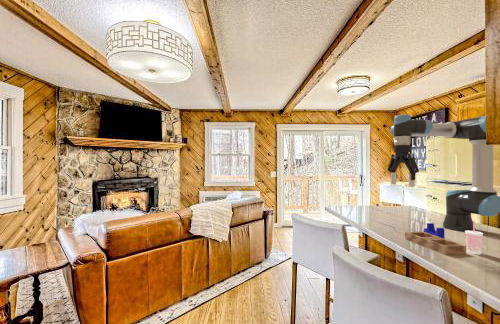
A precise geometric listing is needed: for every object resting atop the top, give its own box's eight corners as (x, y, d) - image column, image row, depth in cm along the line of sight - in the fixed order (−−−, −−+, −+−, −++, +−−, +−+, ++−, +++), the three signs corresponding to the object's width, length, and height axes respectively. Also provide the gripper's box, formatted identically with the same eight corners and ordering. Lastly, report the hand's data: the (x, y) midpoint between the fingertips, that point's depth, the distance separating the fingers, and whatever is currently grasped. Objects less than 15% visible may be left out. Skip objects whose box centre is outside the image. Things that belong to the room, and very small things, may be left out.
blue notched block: (423, 233, 146) (423, 223, 146) (432, 234, 145) (432, 223, 145) (434, 239, 134) (434, 228, 134) (444, 240, 133) (444, 228, 133)
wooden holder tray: (405, 238, 135) (405, 232, 135) (422, 238, 137) (422, 231, 137) (445, 254, 112) (445, 246, 112) (466, 253, 113) (466, 245, 113)
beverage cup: (464, 249, 119) (464, 218, 119) (482, 252, 115) (482, 220, 115) (464, 253, 114) (464, 221, 114) (483, 256, 110) (483, 223, 110)
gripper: (380, 146, 148) (380, 183, 148) (413, 142, 123) (413, 187, 123) (392, 146, 149) (392, 183, 149) (427, 143, 124) (427, 187, 124)
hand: (402, 185), depth 136 cm, fingers open, 13 cm apart
